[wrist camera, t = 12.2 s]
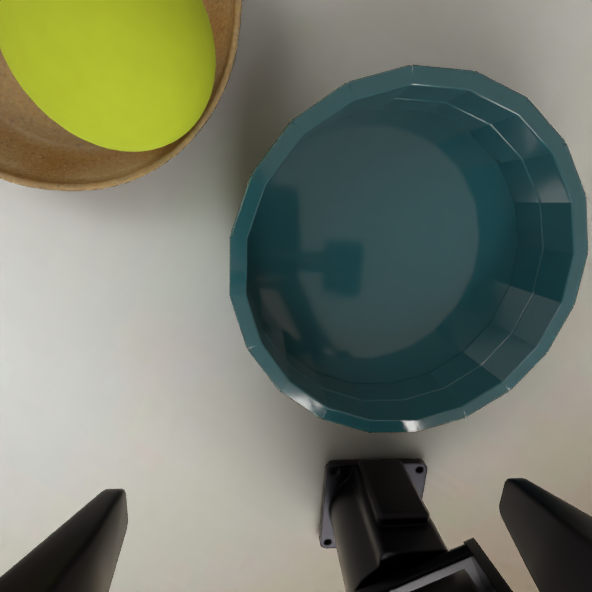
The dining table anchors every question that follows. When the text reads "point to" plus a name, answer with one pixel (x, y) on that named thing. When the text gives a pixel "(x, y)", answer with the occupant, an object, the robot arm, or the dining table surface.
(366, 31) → the dining table surface
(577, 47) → the dining table surface
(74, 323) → the dining table surface
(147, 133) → the ball
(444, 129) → the glazed bowl
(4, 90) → the plant saucer
